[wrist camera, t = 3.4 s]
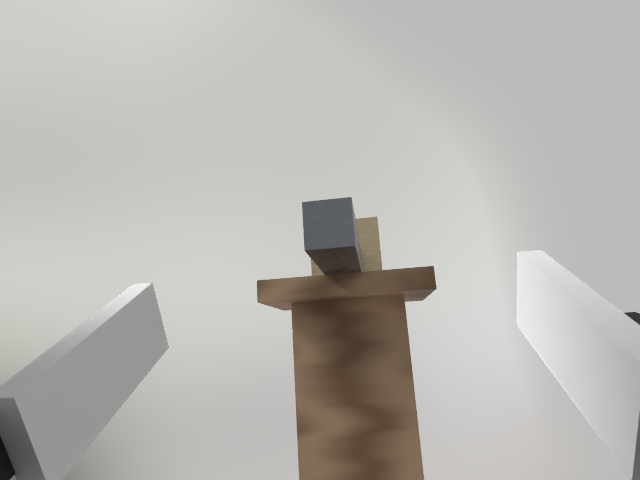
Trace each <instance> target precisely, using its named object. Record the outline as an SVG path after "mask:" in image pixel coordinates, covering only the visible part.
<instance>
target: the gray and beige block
mask: <svg viewBox="0 0 640 480" xmlns="http://www.w3.org/2000/svg"><path fill="white" fill-rule="evenodd" d="M302 209H303V228H304V246H305V251H306V253H307V254H308V255H309V256H310V257H311V267H312V276H319V275H331V274H343V273H356V272H368V271H380V270H382V262H381V252H380V242H379V232H378V221H377V217H370V218H360V219H355V214H354V209H353V203H352V198H351V197H348V198H339V199H329V200H320V201H310V202H302Z"/></svg>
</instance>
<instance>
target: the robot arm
mask: <svg viewBox="0 0 640 480" xmlns="http://www.w3.org/2000/svg"><path fill="white" fill-rule="evenodd" d="M517 326H518V328H519V329H520V330H521V332H522V333H523V334H524V336H525V337H526V338H527V340H528V341H529V343H530V344H531V345H532V347H533V348H534V349H535V351H536V352H537V353H538V355H539V356H540V357H541V359H542V360H543V362H544V363H545V364H546V366H547V367H548V368H549V370H550V371H551V372H552V374H553V375H554V376H555V378H556V379H557V381H558V382H559V383H560V385H561V386H562V387H563V389H564V390H565V391H566V393H567V394H568V395H569V397H570V398H571V399H572V401H573V402H574V404H575V405H576V406H577V408H578V409H579V410H580V412H581V413H582V414H583V416H584V417H585V418H586V420H587V421H588V423H589V424H590V425H591V427H592V428H593V429H594V431H595V432H596V433H597V435H598V436H599V438H600V439H601V440H602V442H603V443H604V444H605V446H606V447H607V448H608V450H609V451H610V452H611V454H612V455H613V457H614V458H615V459H616V461H617V462H618V463H619V465H620V466H621V467H622V469H623V470H624V471H625V473H626V474H627V475H628V477H629V478H630V479H631V480H640V314H639V313H636V312H628V313H623V312H622V311H621V310H619V309H618V308H617V307H615V306H614V305H613V304H611V303H610V302H609V301H607V300H606V299H605V298H603V297H602V296H601V295H599V294H598V293H597V292H596V291H594V290H593V289H591V288H590V287H589V286H588V285H586V284H585V283H584V282H582V281H581V280H580V279H578V278H577V277H576V276H575V275H573V274H572V273H571V272H569V271H568V270H567V269H565V268H564V267H563V266H561V265H560V264H559V263H558V262H556V261H555V260H553V259H552V258H551V257H550V256H548V255H547V254H546V253H544V252H543V251H542V250H536V251H524V252H518V253H517ZM168 347H169V346H168V342H167V338H166V334H165V331H164V327H163V323H162V319H161V315H160V311H159V307H158V303H157V299H156V295H155V291H154V287H153V283H145V284H133V285H132V286H131V287H129V288H128V289H127V290H125V291H124V292H123V293H121V294H120V295H119V296H118V297H116V298H115V299H114V300H112V301H111V302H110V303H108V304H107V305H106V306H104V307H103V308H102V309H101V310H99V311H98V312H97V313H95V314H94V315H93V316H91V317H90V318H89V319H88V320H86V321H85V322H84V323H82V324H81V325H80V326H78V327H77V328H76V329H75V330H73V331H72V332H71V333H69V334H68V335H67V336H65V337H64V338H63V339H61V340H60V341H59V342H58V343H56V344H55V345H54V346H52V347H51V348H50V349H48V350H47V351H46V352H44V353H43V354H42V355H41V356H39V357H38V358H37V359H35V360H34V361H33V362H31V363H30V364H29V365H27V366H26V367H25V368H24V369H22V370H21V371H20V372H18V373H17V374H16V375H14V376H13V377H12V378H11V379H9V380H8V381H7V382H5V383H4V384H3V385H2V386H0V480H9V479H11V478H12V476H13V475H14V474H15V476H16V479H17V480H62V479H63V478H64V477H65V475H66V474H67V473H68V472H69V470H70V469H71V468H72V467H73V465H74V464H75V463H76V462H77V461H78V459H79V458H80V457H81V455H82V454H83V453H84V452H85V451H86V449H87V448H88V447H89V446H90V444H91V443H92V442H93V441H94V439H95V438H96V437H97V436H98V434H99V433H100V432H101V431H102V430H103V428H104V427H105V426H106V425H107V423H108V422H109V421H110V420H111V418H112V417H113V416H114V415H115V413H116V412H117V411H118V410H119V408H120V407H121V406H122V404H123V403H124V402H125V401H126V399H127V398H128V397H129V396H130V395H131V393H132V392H133V391H134V390H135V389H136V387H137V386H138V385H139V384H140V382H141V381H142V380H143V379H144V377H145V376H146V375H147V374H148V372H149V371H150V370H151V369H152V367H153V366H154V365H155V364H156V363H157V361H158V360H159V359H160V358H161V356H162V355H163V354H164V353H165V351H166V350H167V349H168Z"/></svg>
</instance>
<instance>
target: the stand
mask: <svg viewBox="0 0 640 480" xmlns="http://www.w3.org/2000/svg"><path fill="white" fill-rule="evenodd" d="M434 290H436V282H435V275H434V267H433V266H429V267H416V268H405V269H392V270H380V271H368V272H356V273H343V274H331V275H319V276H307V277H296V278H283V279H270V280H258V281H257V297H258V303H261V304H265V305H268V306H272V307H274V308H278V309H281V310H292V327H293V328H292V329H293V351H294V373H295V395H296V416H297V437H298V438H297V439H298V461H299V480H424V475H423V466H422V457H421V448H420V438H419V429H418V420H417V410H416V401H415V393H414V384H413V374H412V365H411V355H410V346H409V337H408V328H407V319H406V310H405V302H406V301H420V300H423V299H425V298H426V297H427V296H428V295H430V294H431V293H432V292H433V291H434Z"/></svg>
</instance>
